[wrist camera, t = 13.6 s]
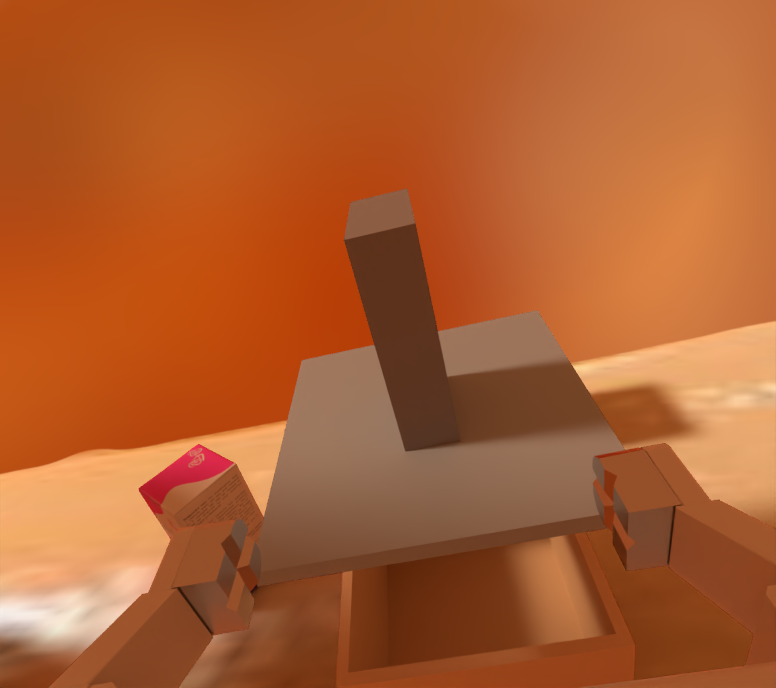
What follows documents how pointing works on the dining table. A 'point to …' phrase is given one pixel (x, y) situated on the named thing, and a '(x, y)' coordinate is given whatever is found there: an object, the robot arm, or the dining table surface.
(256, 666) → the dining table surface
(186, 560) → the robot arm
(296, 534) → the grey plate with knob
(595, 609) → the large tan box
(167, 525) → the supplement box
